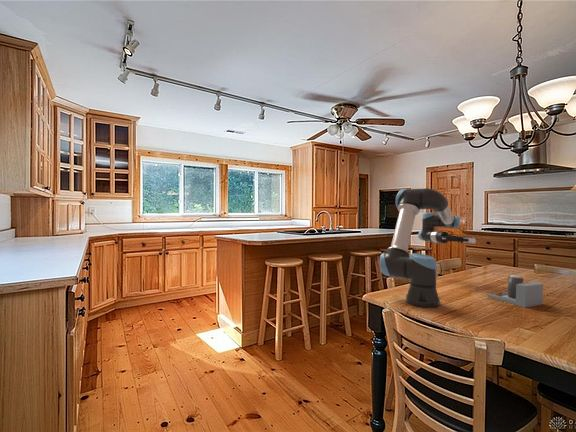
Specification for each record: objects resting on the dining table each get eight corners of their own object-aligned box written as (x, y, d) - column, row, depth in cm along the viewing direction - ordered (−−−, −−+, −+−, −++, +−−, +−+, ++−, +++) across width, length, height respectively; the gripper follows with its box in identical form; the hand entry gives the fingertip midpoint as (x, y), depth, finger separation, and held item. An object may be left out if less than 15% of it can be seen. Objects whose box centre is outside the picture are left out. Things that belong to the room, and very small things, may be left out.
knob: (518, 303, 142) (519, 278, 142) (501, 298, 149) (502, 274, 149) (529, 301, 145) (529, 277, 144) (511, 296, 152) (512, 273, 152)
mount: (524, 307, 137) (525, 286, 137) (486, 296, 154) (487, 277, 154) (542, 304, 142) (543, 283, 141) (503, 294, 158) (504, 275, 158)
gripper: (447, 242, 191) (482, 247, 169) (432, 243, 187) (466, 247, 165) (447, 231, 191) (483, 234, 169) (432, 231, 187) (466, 234, 165)
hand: (474, 240), depth 167 cm, fingers closed
